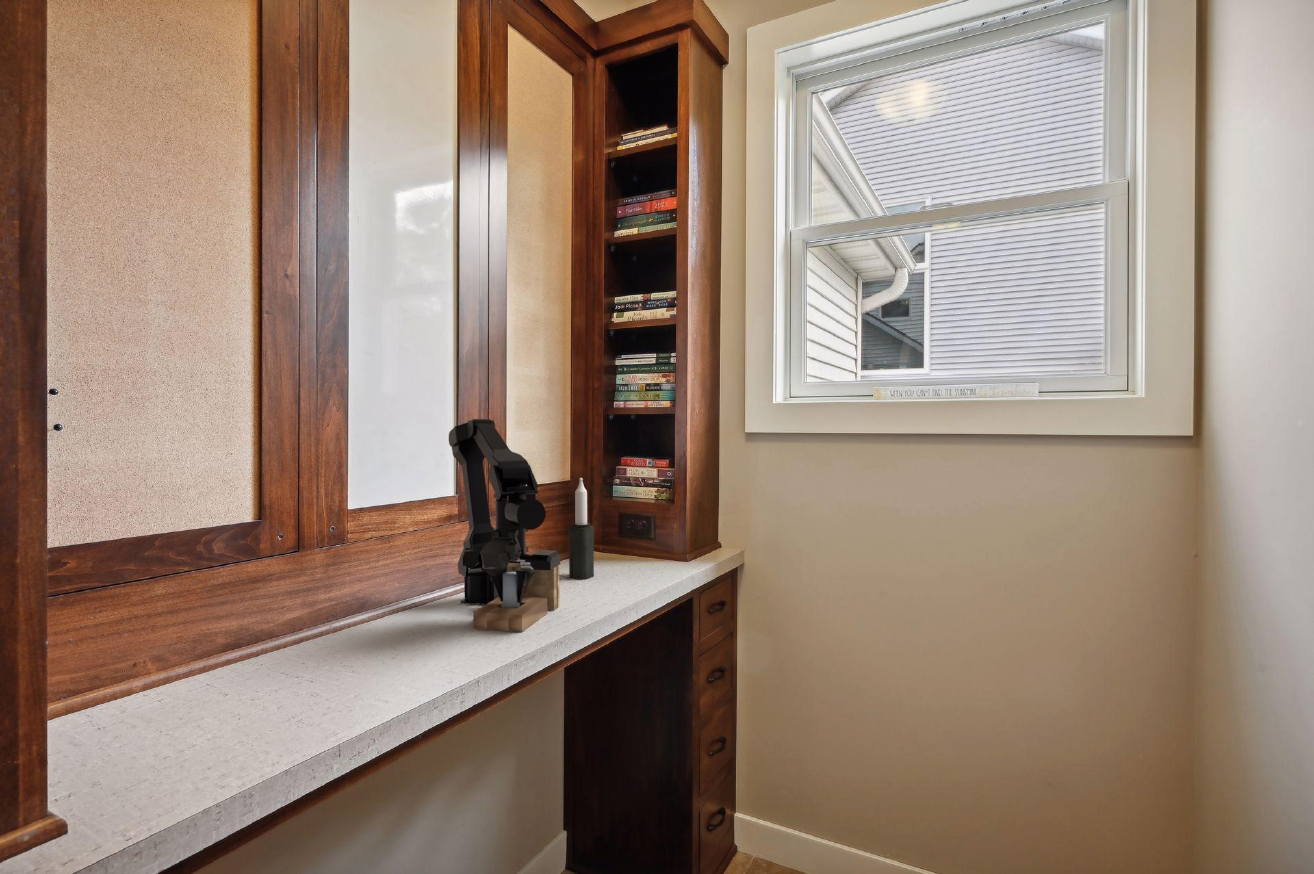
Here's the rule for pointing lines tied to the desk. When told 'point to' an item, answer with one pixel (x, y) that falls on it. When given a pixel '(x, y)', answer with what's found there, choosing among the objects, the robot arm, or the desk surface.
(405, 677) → the desk surface
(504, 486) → the robot arm
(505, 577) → the peg
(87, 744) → the desk surface
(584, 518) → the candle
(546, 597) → the socket station
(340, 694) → the desk surface
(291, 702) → the desk surface
